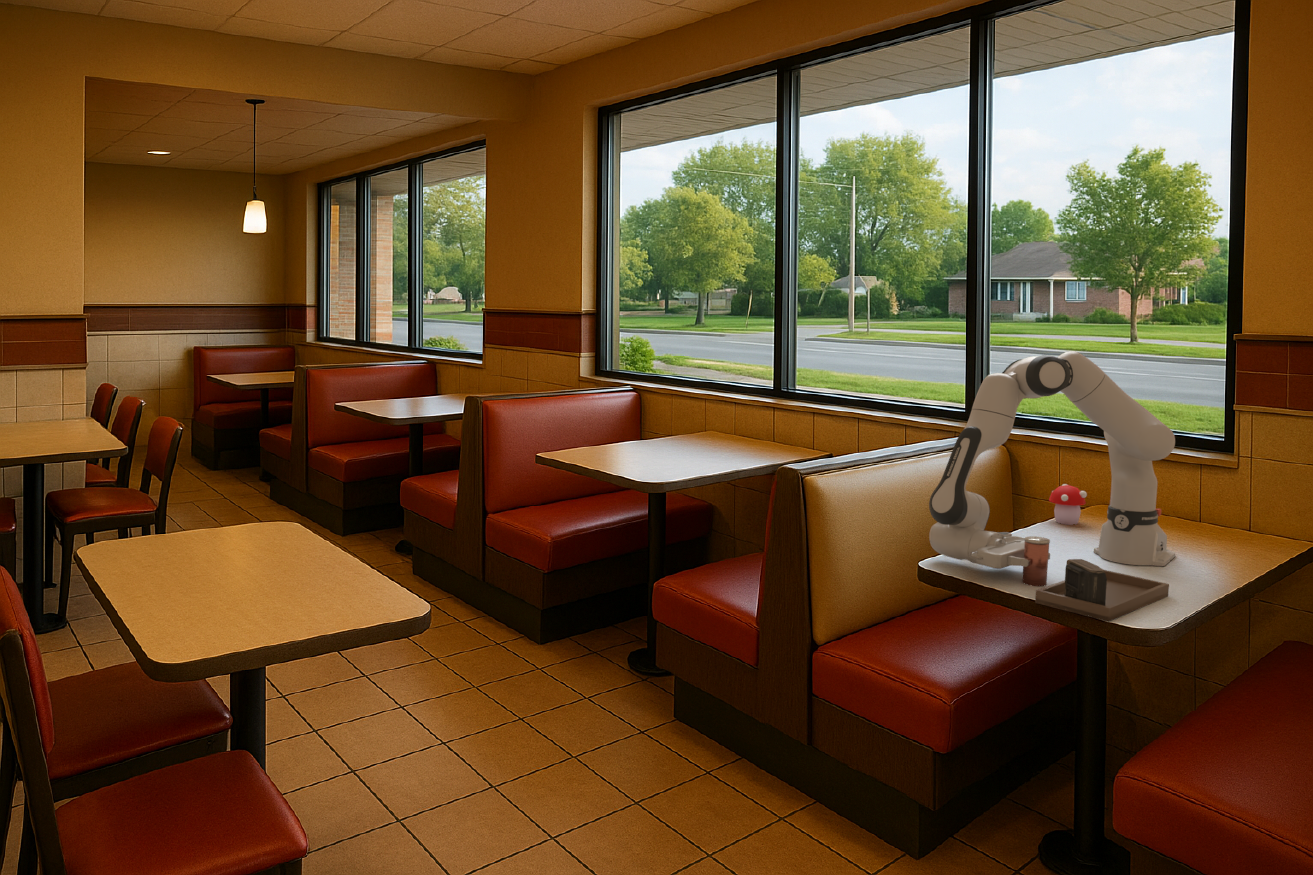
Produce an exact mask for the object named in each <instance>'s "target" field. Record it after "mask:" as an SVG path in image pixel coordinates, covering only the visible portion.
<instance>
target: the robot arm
mask: <svg viewBox="0 0 1313 875" xmlns="http://www.w3.org/2000/svg"><path fill="white" fill-rule="evenodd" d="M1060 392H1061V393H1063V395H1064V396H1065V397H1066V399H1068V400H1069V401H1070V402H1071V403H1072V404H1073V405H1074V406H1075V407H1076V408H1077V409H1078V410H1079V411H1080V412H1081V413H1082V414H1083V415H1085V417H1086V418H1087V419H1088V420H1089V421H1090V422H1092V423H1093V424H1095V425H1096V426H1097V427H1099V428H1100V429H1101V430H1103V435H1104V439H1105V442H1106V444H1107V447H1108V448H1107V449H1108V455H1109V464H1110V472H1111V473H1110V474H1111V486H1110V497H1109V498H1110V500H1109V505H1108V506H1107V511H1106V516H1107V517H1106V519H1107V521H1105V522H1103V523H1102V525H1101V530H1100V536H1099V543H1098V547H1094V549H1093V552H1094V554H1096V555H1098V556H1099V557H1101V559H1104V560H1107V561H1110V562H1112V563H1113V562H1114V563H1118V564H1125V565H1134V566H1156V567H1157V566H1158V567H1165V566H1166V565H1168V563H1169V562H1171V561H1172V560H1173V559H1174V558H1175V557H1176V552H1175V551H1172V550H1170V549H1167V546H1168V534H1166V532H1164V530H1163V528H1161V527H1160V525H1159V524H1158V522H1159V520H1158V518H1159V517H1160V516H1161V515H1162V508H1156V507H1157V506H1156V505H1157V495H1158V484H1159V483H1158V478H1157V476H1156V474H1155V471H1154V465H1153V461H1160V460H1163V459H1165V458H1167V457H1169V455H1171V454H1172V452H1173V451H1174V448H1175V446H1176V436H1175V434H1174V431H1173V430H1172V429H1171V428H1170V427H1168V426H1167V425H1166V424H1164V423H1163V422H1162V421H1161V420H1160V419H1158V418H1157V417H1156V416H1155V415H1154V414H1153V413H1152V412H1150V411H1149V410H1148V409H1146V408H1145V406H1143V405H1141V403H1139V402H1137V401H1136V400H1135V399H1134V398H1132V397H1131V396H1129V394H1127V393H1126V392H1125V391H1124V390H1123V389H1122V388H1121V387H1119V385H1118V384H1117V383H1116V382H1115V381H1114V380H1113V379H1112V378H1110V376H1108V374H1106V372H1105V371H1103V369H1101V368H1100V367H1099V366H1098V365H1097V364H1095V362H1094V361H1092V360H1090V359H1089V358H1088V357H1086V356H1085V355H1083V354H1081V353H1080V352H1078V351H1075V350H1069V351H1065V352H1063V353H1061V354H1059V355H1058V356H1057V357H1056V356H1054V355H1049V354H1048V355H1047V354H1045V355H1043V354H1042V355H1033V356H1028V357H1025V358H1021V359H1018V360H1017V359H1016V360H1015V361H1014V362H1012V363H1010V364H1009V365H1008V366H1007V367H1006V368H1005V369H1004V370H1003V371H1002V372H995V373H991V374H988V375H987V376H985V378H984V379H983V380H982V383H981V384H980V386H979V388H978V390H977V393H976V396H975V398H974V401H973V404H972V407H971V411H970V414H969V418H968V420H967V423H966V424H965V426H964V428H963V430H962V431H961V432H960V434H959V435H958V437H957V439H956V441H955V443H954V445H953V449H952V451H951V454H950V456H949V457H948V458H949V459H948V461H947V463H946V466H945V469H944V472H943V474H942V476H941V479H940V481H939V483H938V484H937V486H936V487H935V488H934V490H933V491H932V493H931V495H930V497H929V502H928V510H929V512H930V515H931V517H932V518H933V519H934V520H935V521H936V523H934V524H933V525H931V527H930V530H929V536H928V537H929V539H928V540H929V543H930V546H931V547H932V549H933V550H934V551H935V552H936V553H938V554H939V555H942V556H945V557H949V558H952V559H956V560H962V561H964V560H965V561H966V560H967V561H969V562H970V563H973V564H977V565H981V566H984V567H988V568H992V569H997V570H998V569H999V570H1000V569H1005V568H1007V567H1010V566H1012V567H1013V566H1015V567H1016V566H1018V567H1019V566H1020V567H1023V566H1024V567H1027V566H1030V562H1031V561H1030V559H1027V558H1024V546H1025V541H1024V539H1025V537H1022V536H1017V535H1013V534H1012V532H1007V531H1002V532H1001V531H1000V532H999V531H997V532H996V531H991V530H985V529H986V526H987V525H988V521H989V518H990V514H991V508H990V504H989V502H988V500H987V499H986V498H985V497H984V496H983V495H981V494H979V493H976V492H973V491H968V490H967V489H966V488H967V484H968V481H969V478H970V476H971V473H972V470H973V467H974V465H975V462H976V460H977V459H978V457H979V456H980V455H981V454H982V453H985V452H986V451H988V450H992V449H995V448H999V447H1000V446H1002V445H1004V444H1005V443H1006V442H1007V440H1008V439H1009V437H1010V435H1011V434H1012V430H1013V428H1014V423H1015V419H1016V416H1017V412H1018V411H1017V410H1018V408H1019V405H1020V404H1021V403H1022V401H1023V400H1024V399H1040V398H1042V397H1051V396H1053V395H1057V394H1058V393H1060ZM1050 559H1051V553H1050V552H1049V555H1048V561H1049V560H1050ZM1170 560H1171V561H1170Z"/></svg>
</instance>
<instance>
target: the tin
mask: <svg viewBox="0 0 1313 875" xmlns="http://www.w3.org/2000/svg"><path fill="white" fill-rule="evenodd" d="M1024 538H1025V539H1024V541H1025V546H1024V558H1027V559H1030V561H1031V562H1030V566H1027V567H1024V566H1022V579H1021V583H1022V584H1024V583H1025V584H1024V585H1026V584H1028V585H1027V586H1030V585H1032V586H1031V587H1045V586H1047V584H1048V583H1047V580H1048V579H1047V578H1048V565H1049V560H1048V555H1049V553H1050V543H1051V540H1050V539H1049V538H1048V537H1047V538H1046V537H1042V536H1034V535H1033V536H1032V535H1031V536H1025V537H1024ZM1044 585H1045V586H1044Z"/></svg>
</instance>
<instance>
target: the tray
mask: <svg viewBox="0 0 1313 875" xmlns="http://www.w3.org/2000/svg"><path fill="white" fill-rule="evenodd" d="M1103 570H1104V573H1106V578H1107V585H1106V587H1107V588H1106V604H1105V606H1103V605H1099V604H1095V603H1091V602H1087V601H1083V600H1079V599H1075V598H1071V597H1067V596H1065V595H1064V587H1065V579H1063V580H1062V581H1058V582H1055V583H1053V584H1050V585H1045V586H1043V587H1041V588H1038V589H1036V590H1035V599H1034V603H1035V604H1039V605H1043V606H1047V607H1051V608H1054V609H1057V610H1061V611H1065V612H1070V613H1072V614H1077V615H1081V616H1085V617H1089V618H1092V619H1096V620H1100V621H1105V622H1107V623H1109V622H1112V621H1113V620H1116V619H1118V618H1121V617H1123V616H1126V615H1128V614H1130V613H1133V612H1135V611H1137V610H1140V609H1141V608H1144V607H1147V606H1149V605H1152V604H1153V603H1155V602H1158V601H1160V600H1162V599H1165V598H1168V596H1169V592H1170V591H1169V590H1170V583H1167V582H1163V581H1162V582H1161V581H1157V580H1152V579H1148V578H1143V577H1140V576H1139V577H1138V576H1135V575H1131V574H1130V575H1129V574H1125V573H1120V572H1116V571H1111V570H1106V569H1103Z"/></svg>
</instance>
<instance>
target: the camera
mask: <svg viewBox="0 0 1313 875" xmlns="http://www.w3.org/2000/svg"><path fill="white" fill-rule="evenodd" d="M1104 570H1105V569H1103V568H1101V567H1100V566H1099V565H1096V564H1095V563H1092V562H1090V561H1088V560H1085V559H1083V558H1082V559H1081V558H1071V559H1070V558H1069V559H1067V560H1066V565H1065V573H1064V580H1065V587H1064V595H1065V596H1067V597H1071V598H1075V599H1079V600H1083V601H1087V602H1091V603H1095V604H1099V605H1103V606H1105V604H1106V588H1107V587H1106V585H1107V578H1106V573H1104Z"/></svg>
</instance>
